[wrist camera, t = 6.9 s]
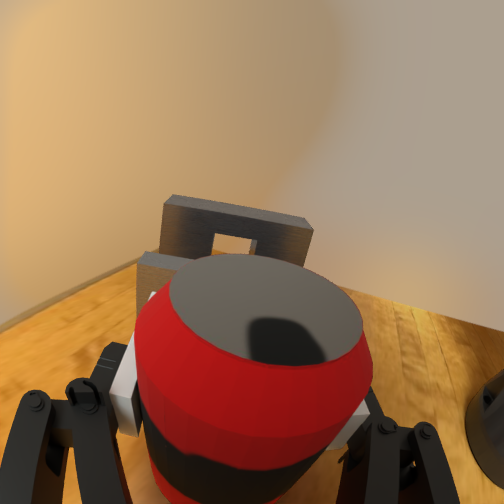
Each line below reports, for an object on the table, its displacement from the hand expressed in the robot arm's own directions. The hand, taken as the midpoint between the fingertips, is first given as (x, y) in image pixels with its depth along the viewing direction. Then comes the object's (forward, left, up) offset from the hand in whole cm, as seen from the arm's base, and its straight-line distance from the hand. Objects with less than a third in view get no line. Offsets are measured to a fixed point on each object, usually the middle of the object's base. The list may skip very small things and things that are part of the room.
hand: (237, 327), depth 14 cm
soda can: (0, +5, -7) cm, 9 cm away
